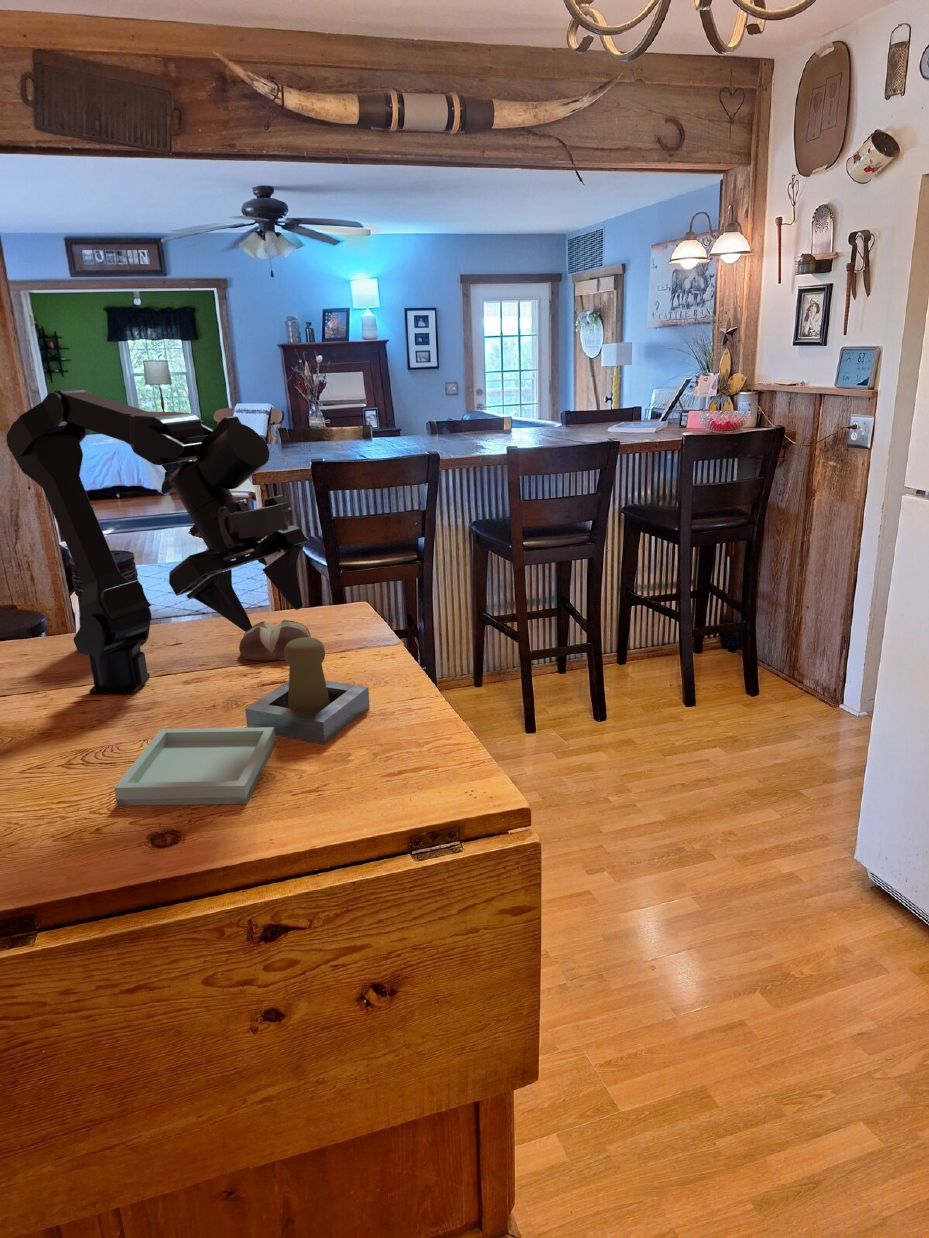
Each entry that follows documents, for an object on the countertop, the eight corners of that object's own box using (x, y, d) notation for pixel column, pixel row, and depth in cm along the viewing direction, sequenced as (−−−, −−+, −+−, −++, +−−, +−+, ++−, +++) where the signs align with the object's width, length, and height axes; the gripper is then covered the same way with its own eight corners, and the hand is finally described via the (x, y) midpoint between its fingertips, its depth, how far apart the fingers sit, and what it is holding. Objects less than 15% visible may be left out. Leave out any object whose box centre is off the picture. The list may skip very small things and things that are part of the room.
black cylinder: (108, 658, 129) (93, 568, 125) (71, 648, 134) (55, 560, 130) (160, 640, 137) (147, 554, 133) (123, 630, 142) (110, 547, 138)
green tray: (117, 805, 87) (114, 787, 87) (163, 745, 101) (160, 728, 100) (246, 803, 87) (244, 785, 86) (275, 743, 100) (274, 727, 100)
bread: (306, 663, 126) (303, 633, 125) (233, 664, 127) (229, 634, 125) (319, 639, 137) (316, 610, 135) (252, 639, 137) (249, 611, 136)
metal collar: (247, 729, 104) (245, 708, 103) (297, 695, 114) (295, 675, 113) (324, 744, 100) (323, 722, 99) (369, 707, 110) (368, 686, 109)
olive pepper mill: (289, 709, 110) (282, 633, 106) (334, 707, 110) (329, 631, 107) (284, 729, 104) (276, 649, 100) (331, 727, 104) (325, 647, 101)
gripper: (189, 487, 87) (261, 614, 87) (302, 464, 102) (363, 572, 103) (137, 534, 93) (205, 652, 94) (251, 506, 109) (308, 608, 109)
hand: (275, 618), depth 100 cm, fingers open, 9 cm apart
